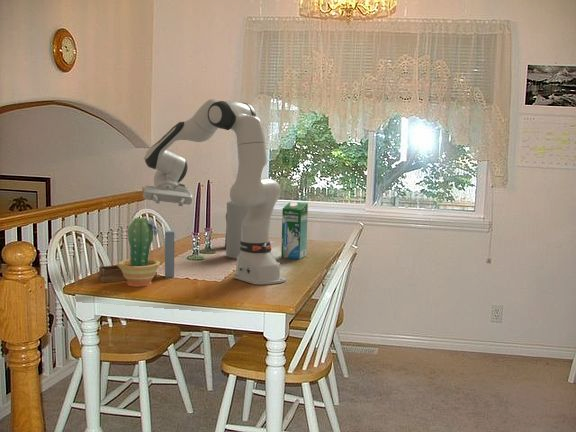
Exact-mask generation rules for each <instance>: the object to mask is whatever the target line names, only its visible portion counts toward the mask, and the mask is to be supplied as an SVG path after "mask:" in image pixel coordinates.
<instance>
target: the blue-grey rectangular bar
mask: <svg viewBox="0 0 576 432" xmlns="http://www.w3.org/2000/svg"><path fill="white" fill-rule="evenodd" d="M164 278H166V279H167V278H175V230H164Z"/></svg>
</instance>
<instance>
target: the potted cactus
mask: <svg viewBox="0 0 576 432" xmlns="http://www.w3.org/2000/svg"><path fill="white" fill-rule="evenodd" d="M158 232H159V230H158V228H157V226H156V224H155V223H154V221H152V220H148V218H147V217H145V218H144V217H143V216H142V217H141V218H140V217H135V218H134V219H133V220H132V221H131V223H130V224H129V226H128V227H127V238H128V243H129V245H130V246H129V247H130V259H125V260H121V261H119V262H118V263H117V264H118V266H119V268H120V269H121V270H122V273H123V276H124V277H125V278H126V280H125V281H127V283H126V285H127V286H130V287H138V288H139V287H148V286H150V285H152V284H153V283H152V280H153V279H154V278H155V277H154V276H155V274H156V272H157V271H158V269H159V268H160V266H161V265H160V264H161V262H160V261H159V260H157V259H151V258H149V255H150V249H151V245H152V242H153V239H154V236H155V238H157V236H158V234H159V233H158ZM153 277H154V278H153Z"/></svg>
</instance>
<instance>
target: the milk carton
mask: <svg viewBox="0 0 576 432" xmlns="http://www.w3.org/2000/svg"><path fill="white" fill-rule="evenodd" d="M308 209H309V204H308V202H298V201H297V202H295V201H289V202H288V203H287V204H286V205H285V206H284V207H283V208H282V213H281V214H282V215H281V216H282V218H281V219H282V220H281V221H282V222H281V250H280V251H281V255H280V256H281V258H283V259H284V258H285V259H295V260H300V259H302V258H305V257H307V249H308V247H307V245H308V242H307V240H308V215H309V214H308V212H309V211H308Z"/></svg>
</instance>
